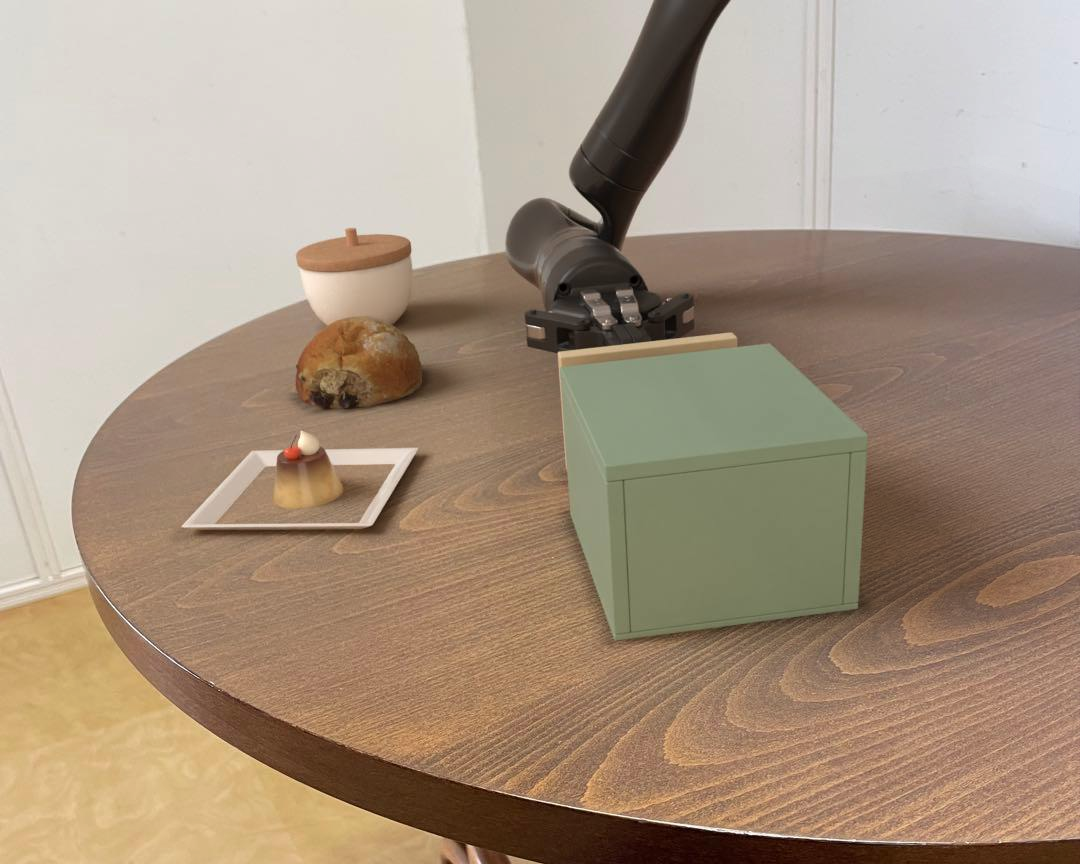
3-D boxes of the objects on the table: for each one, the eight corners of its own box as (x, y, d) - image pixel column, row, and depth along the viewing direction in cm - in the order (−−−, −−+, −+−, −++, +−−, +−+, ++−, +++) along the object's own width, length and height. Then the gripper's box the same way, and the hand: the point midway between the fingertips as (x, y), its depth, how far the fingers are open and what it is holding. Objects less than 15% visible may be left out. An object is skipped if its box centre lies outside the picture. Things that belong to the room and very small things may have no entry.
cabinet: (570, 520, 67) (559, 366, 63) (768, 496, 68) (770, 342, 64) (615, 649, 54) (604, 466, 50) (858, 617, 55) (868, 434, 51)
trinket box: (415, 339, 104) (401, 236, 100) (300, 348, 104) (281, 246, 100) (425, 308, 113) (413, 213, 109) (319, 316, 114) (303, 222, 110)
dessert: (184, 543, 69) (166, 471, 66) (255, 465, 79) (241, 400, 77) (374, 542, 67) (362, 468, 65) (420, 462, 77) (412, 396, 75)
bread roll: (437, 436, 91) (459, 338, 90) (334, 419, 84) (357, 313, 83) (364, 411, 98) (384, 320, 97) (263, 394, 90) (283, 295, 89)
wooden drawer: (556, 445, 76) (548, 332, 72) (715, 426, 77) (714, 314, 73) (602, 566, 60) (594, 429, 57) (801, 541, 61) (805, 404, 57)
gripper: (503, 253, 87) (529, 310, 72) (672, 235, 88) (732, 288, 72) (512, 347, 90) (538, 421, 75) (674, 329, 91) (733, 398, 76)
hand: (634, 355), depth 74 cm, fingers closed
